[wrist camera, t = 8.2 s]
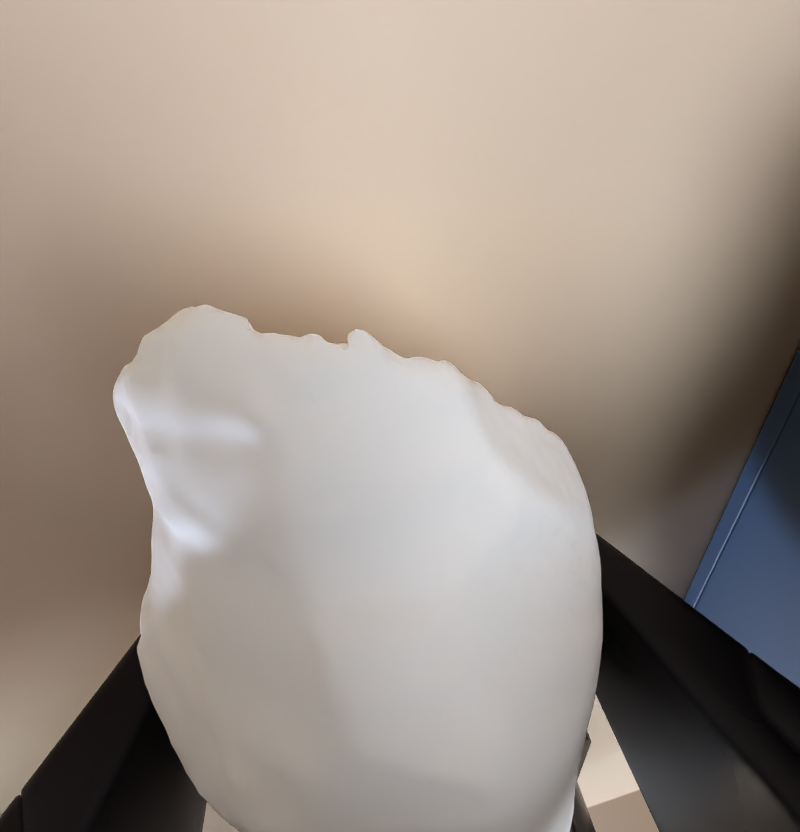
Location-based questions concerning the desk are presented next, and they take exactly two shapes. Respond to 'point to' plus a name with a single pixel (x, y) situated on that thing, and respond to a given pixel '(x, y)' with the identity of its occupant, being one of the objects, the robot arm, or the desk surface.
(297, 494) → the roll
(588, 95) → the desk surface
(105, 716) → the robot arm
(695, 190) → the desk surface
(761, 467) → the blue box
